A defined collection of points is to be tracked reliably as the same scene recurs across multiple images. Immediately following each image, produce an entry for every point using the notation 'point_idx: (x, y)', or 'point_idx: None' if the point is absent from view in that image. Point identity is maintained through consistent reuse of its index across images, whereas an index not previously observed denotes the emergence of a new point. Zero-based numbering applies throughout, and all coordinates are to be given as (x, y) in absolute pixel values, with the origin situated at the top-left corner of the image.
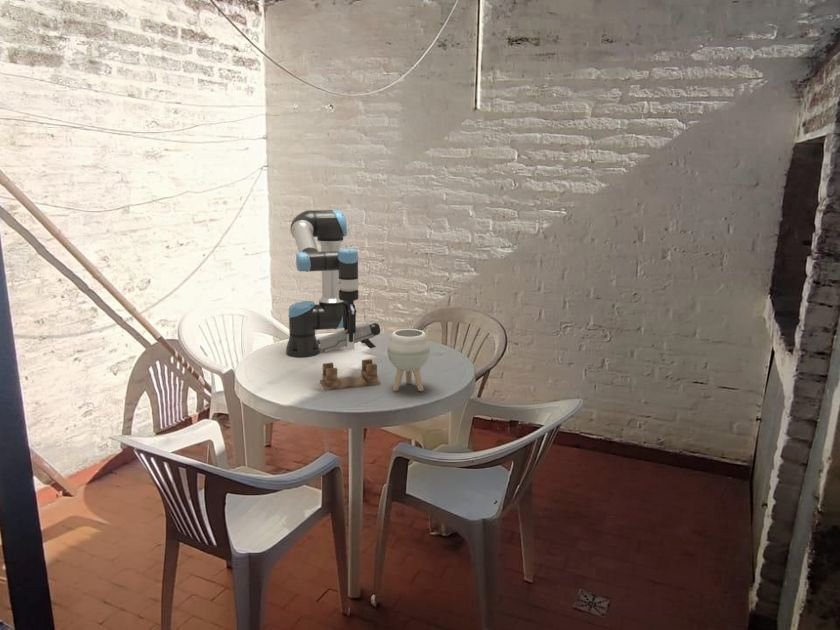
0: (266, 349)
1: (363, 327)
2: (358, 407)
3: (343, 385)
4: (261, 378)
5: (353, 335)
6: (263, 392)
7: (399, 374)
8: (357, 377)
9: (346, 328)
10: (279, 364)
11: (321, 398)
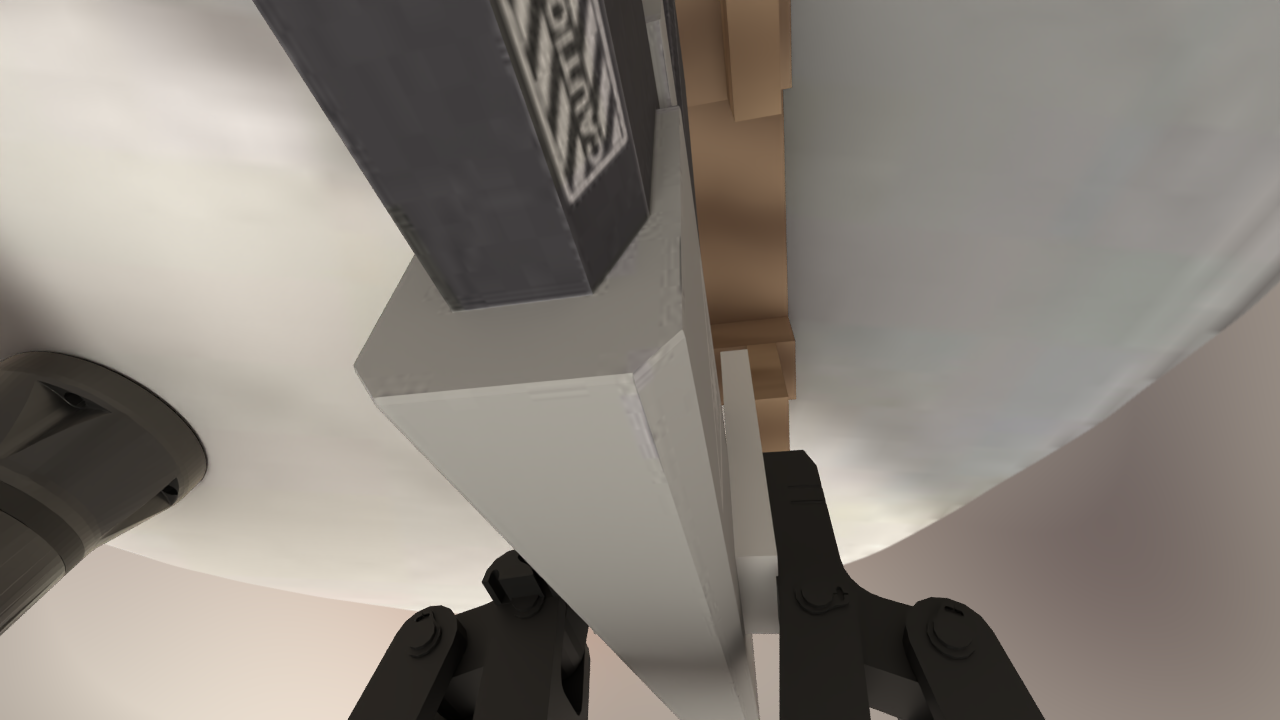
0: (139, 546)
1: (715, 481)
2: (1230, 211)
3: (775, 281)
4: None
5: (770, 520)
6: None
7: None
8: None
9: (571, 668)
10: (345, 520)
11: (912, 402)
